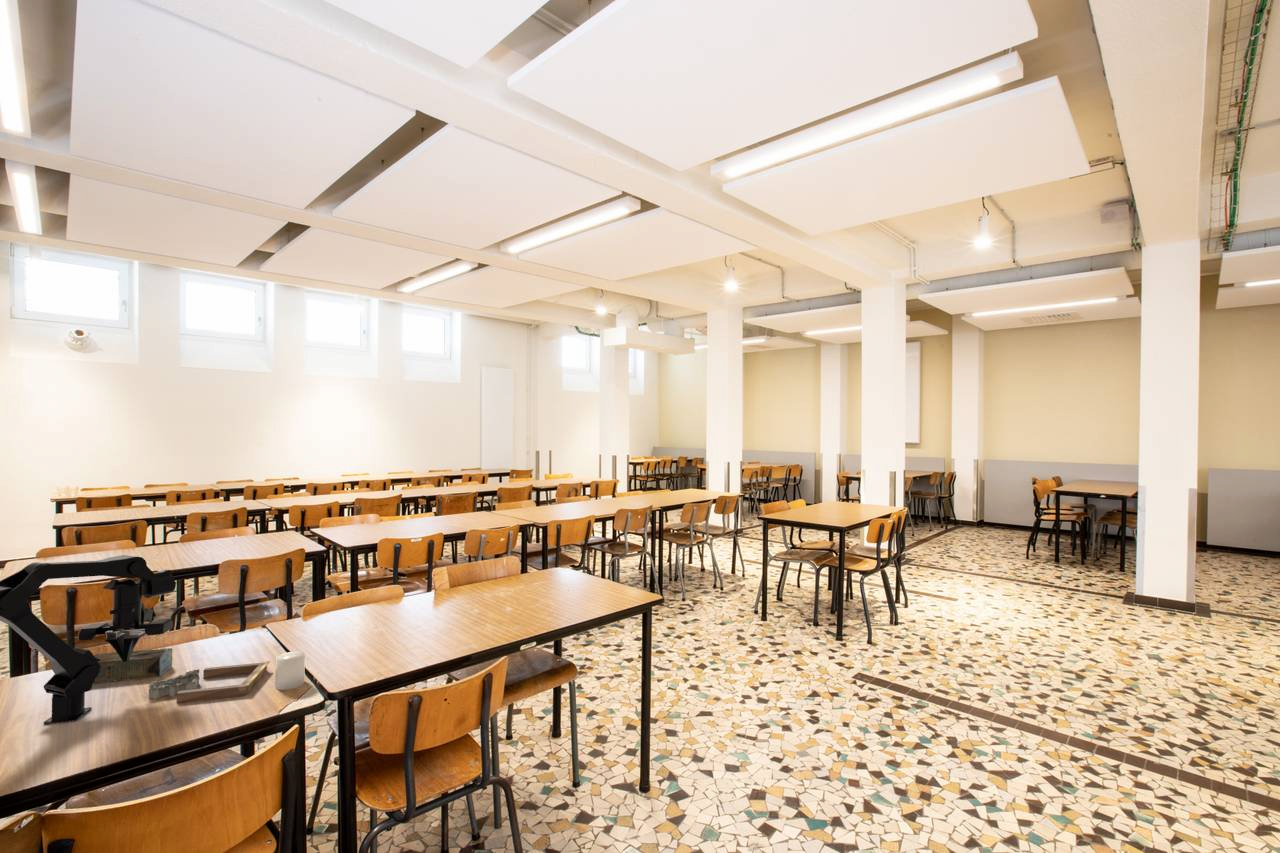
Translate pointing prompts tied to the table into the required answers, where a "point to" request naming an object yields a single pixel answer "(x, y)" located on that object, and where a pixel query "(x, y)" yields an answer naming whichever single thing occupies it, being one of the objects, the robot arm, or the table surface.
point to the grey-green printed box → (134, 665)
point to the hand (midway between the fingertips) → (125, 661)
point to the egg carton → (174, 684)
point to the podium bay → (225, 691)
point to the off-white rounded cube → (290, 670)
